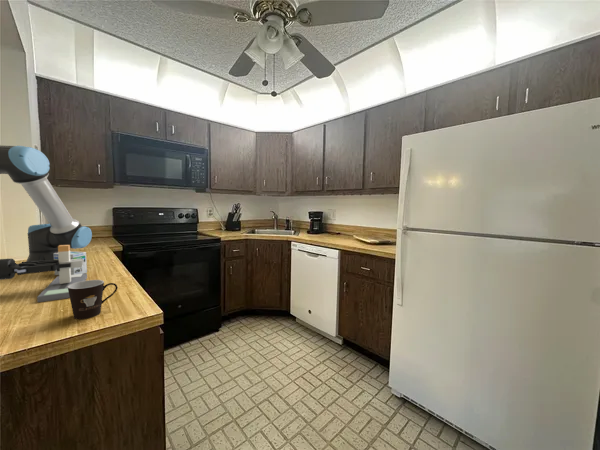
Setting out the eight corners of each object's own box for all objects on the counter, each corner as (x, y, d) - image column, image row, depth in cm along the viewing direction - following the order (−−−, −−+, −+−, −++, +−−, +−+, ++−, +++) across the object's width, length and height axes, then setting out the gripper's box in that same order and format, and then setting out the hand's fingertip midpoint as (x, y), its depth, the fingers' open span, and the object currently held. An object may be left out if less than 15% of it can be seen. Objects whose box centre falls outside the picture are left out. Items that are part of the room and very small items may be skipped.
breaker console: (57, 280, 107) (57, 275, 107) (87, 277, 113) (86, 273, 113) (37, 302, 85) (37, 296, 84) (76, 297, 90) (75, 291, 90)
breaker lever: (61, 281, 99) (59, 245, 98) (71, 280, 101) (69, 244, 100) (59, 283, 97) (57, 246, 95) (69, 282, 98) (68, 245, 97)
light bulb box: (87, 272, 121) (86, 251, 120) (73, 276, 114) (72, 254, 113) (68, 271, 122) (67, 250, 121) (53, 275, 115) (52, 253, 114)
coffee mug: (64, 323, 71) (62, 290, 70) (74, 311, 79) (73, 281, 78) (113, 316, 76) (112, 285, 76) (118, 305, 84) (117, 277, 83)
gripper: (6, 274, 95) (86, 267, 108) (-14, 286, 82) (80, 276, 95) (5, 255, 94) (85, 250, 108) (-15, 264, 81) (79, 257, 94)
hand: (82, 262), depth 101 cm, fingers closed on breaker lever, 3 cm apart
